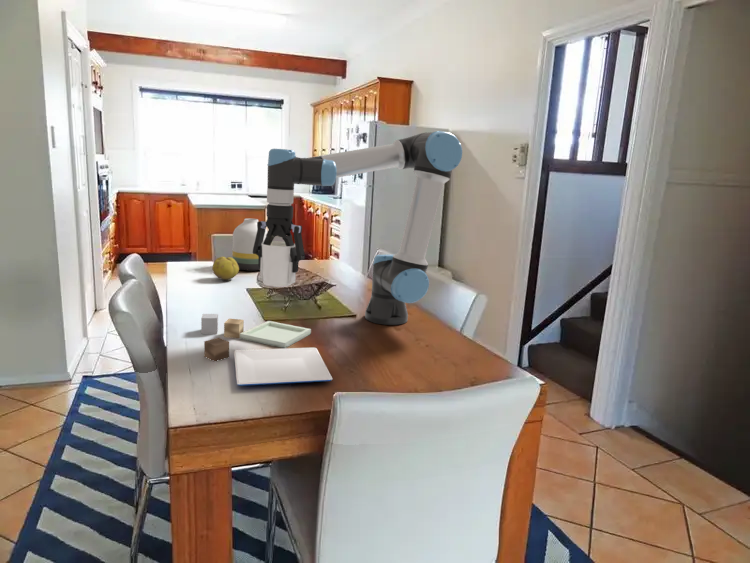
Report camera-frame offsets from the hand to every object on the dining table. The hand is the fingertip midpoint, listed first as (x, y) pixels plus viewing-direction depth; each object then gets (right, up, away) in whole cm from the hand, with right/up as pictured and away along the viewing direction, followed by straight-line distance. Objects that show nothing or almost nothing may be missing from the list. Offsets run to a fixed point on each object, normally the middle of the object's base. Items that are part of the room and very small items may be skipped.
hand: (277, 280), depth 155 cm
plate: (+5, -23, -21) cm, 32 cm away
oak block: (-14, -16, +2) cm, 21 cm away
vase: (-31, +6, +97) cm, 102 cm away
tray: (-1, -17, +4) cm, 17 cm away
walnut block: (-13, -20, -16) cm, 29 cm away
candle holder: (0, -1, 0) cm, 1 cm away
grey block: (-21, -16, +4) cm, 27 cm away
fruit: (-36, 0, +71) cm, 80 cm away
